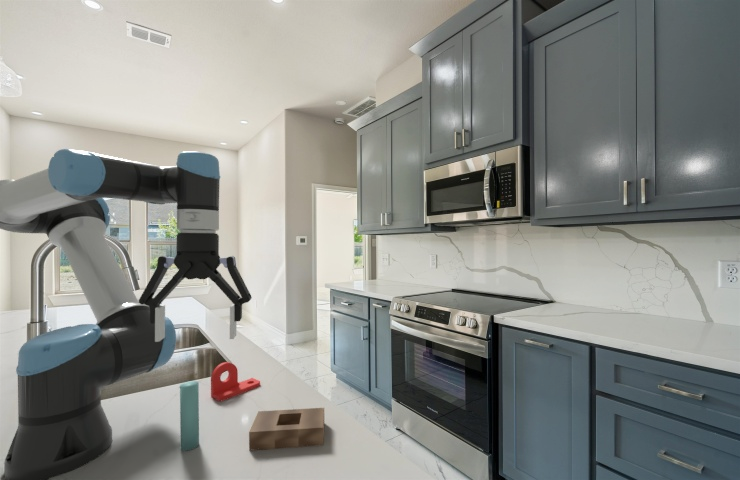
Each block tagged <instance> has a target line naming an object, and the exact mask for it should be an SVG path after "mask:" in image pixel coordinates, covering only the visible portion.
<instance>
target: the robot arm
mask: <svg viewBox="0 0 740 480" xmlns="http://www.w3.org/2000/svg"><path fill="white" fill-rule="evenodd" d="M219 162H220V161H219V159H218V158H217V157H216V156H215V155H213V154H210V153H206V152H202V151H200V152H199V151H189V150H188V151H187V150H186V151H181V152H179V154H178V155H177V159H176V163H175V164H176V165H173V166H160V165H155V164H150V163H144V162H140V161H133V160H128V159H125V158H124V159H123V158H118V157H114V156H109V155H104V154H99V153H95V152H91V151H89V150H88V151H87V150H76V149H69V148H63V149H58V150H56V151H55V152H54V154H53V156H52V157H51V159H50V160H49V163H48V168H46V169H43V170H41V171H37V172H34V173H31V174H29V175H25V176H23V177H21V178H17V179H1V180H0V229H1V230H3V231H5V232H6V231H7V232H12V233H20V234H46V235H47V237H48V239H49V241H50V242H49V243H51V244H53V245H54V246H55V247H57V248H61V249H62V252H63V253H64V255H65V258H66V259H67V262H68V263H69V265H70V267H71V269H72V272H73V274H74V276H75V277H76V280H77V282H78V284H79V286H80V288H81V290H82V292H83V295H84V296H85V299H86V301H87V303H88V305H89V307H90V309H91V312H92V314H93V316H94V318H95V320H96V323H95V324H94V323H87V324H86V323H85V324H83V323H82V324H77V325H73V326H65V327H61V328H57V329H53V330H49V331H47V332H44V333H41V334H39V335H36V336H34V337H32V338H30V339H29V340H28V341H26V342H24V343H23V344H22V346H20V349H19V351H18V358H17V366H16V369H15V370H16V371H15V372H16V375H17V410H18V411H17V412H18V413H17V414H18V418H17V419H18V420H17V422H18V424H17V429H16V431H15V433H14V436H13V438H12V440H11V443H10V446H9V448H8V452H7V454H6V456H5V459H4V463H3V464H4V466H3V467H4V468H3V469H4V471H3V472H4V477H5V479H6V480H48V479H51V478H54V477H57V476H58V477H59V476H61V475H64V474H67V473H69V472H72V471H74V470H77V469H79V468H81V467H83V466H85V465H88V464H89V463H91V462H92V461H94V460H96V459H98V458H99V457H101V455H103V454H104V453H105V452H106V451H107V450H108V449H109V448H110V447H111V445H112V443H113V429H112V426H111V425H110V422H109V419H108V417H107V415H106V412H105V411H104V409H103V406H102V388H105V387H107V386H110V385H113V384H114V385H115V383H120V382H123V381H126V380H128V379H131V378H133V377H134V378H135V377H136V376H140V375H143V374H146V373H149V372H152V371H153V370H156V369H158V368H160V367H164V366H165V365H166V364H167V363H169V362H170V360H171V359H172V357H173V355H174V353H175V349H176V343H177V333H176V329H175V325H174V323H173V322H172V320H171V319H170V318H169V317H167V316H166V304H164V305H163V304H162V303H163V302H164V301H165V300H166V298H167V297H168V296H169V295H170V294H171V293H172V292H173V291H174V289H176V287H178V285H179V284H180V283H181V282H182V281H183V280H184V279H187V280H194V279H198V280H206V279H208V278H209V280H211V282H213V283H214V284H215V285H216V286H217V287H218V288H219V289H220V291H221V292H222V293H223V294H225V296H226V297H227V298H228V299H229V300H230V302H231V303H232V304H231V305H230V306H229V340H234V339H235V337H236V336H237V322H240V321H241V320H242V319H243V304H246V303H249V302H250V301H251V300H252V298H253V297H252V294H251V293H250V291H249V288H248V287H247V285H246V283H245V280H244V279H243V277H242V276H241V274H240V271H239V269H238V267H237V263H236V257H235V256H234V255H231V256H228V257H226V256H225V257H220V254H219V253H220V252H219V248H220V244H219V242H220V236H219V234H218V233H217V231H219V230H220V182H221V181H220V179H221V175H220V163H219ZM105 199H115V200H116V199H117V200H125V201H126V200H127V201H135V202H139V201H140V202H144V203H146V204H152V205H165V204H175V203H176V204H177V205H176V229H177V230H179V231H180V232H177V234H176V255H175V257H172V256H169V255H162V256H159V257H158V258H157V265H156V269H155V270H154V272H153V274H152V276H151V277H150V280H149V281H148V283H147V285H146V287H145V288H144V290H143V292H142V294H141V296H140V297H139V299H138V298H137V295H136V294H135V293H134V290H133V289H132V286H131V284H130V283H129V280H128V279H127V277H126V276H125V273H124V271H123V270H122V268H121V266H120V263H118V260H117V258H116V257H115V255H114V252H113V251H112V249H111V247H110V245H109V244H108V241H107V239H106V238H105V234H106V232H107V229H108V227H109V225H110V219H111V215H110V214H109V213H110V208H109V205H108V204H107V202H106V200H105ZM173 264H174V266H175V267H176V268H177V271H176V273H175V274H174V275H173V276H172V278H171V279H170V280H169V281H168V282H167V283H166V284H165V286H164V287H162V288H161V290H159V292H157V291H158V288H159V286H160V284H161V282H162V280H164V277H165V275H166V274H167V272H168V270H169V268H171V267H172V266H173ZM221 264H222V265H223V267H224V268H226V269H227V271H228V273H229V276H230V278H231V279H232V281H233V284H234V285H235V287H236V289H237V291H238V293H239V294H240V295H239V294H238V293H237V292H236V291H235V290H234V288H233V287H232V286H231V285H230V284H229V282H228V281H227V280H225V278H224V277H223V276H222V274H221V273H220V271H219V270H218V268H219V266H220V265H221ZM156 292H157V294H156V295H155V293H156ZM154 295H155V296H154Z"/></svg>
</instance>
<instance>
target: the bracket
mask: <svg viewBox="0 0 740 480" xmlns="http://www.w3.org/2000/svg"><path fill="white" fill-rule="evenodd" d="M224 372H228V376H227V378H226V379H224V380H221V376H222V375H223V373H224ZM238 374H239V372H238V367H237V366H236V365H235V364H234V363H232V362H229V361H226V362H221V363H219V364H218V365H217V366H216V367H214V370H213V371H212V373H211V375H210V398H212V399H214V400H216V401H218V402H220V403H221V402H222V401H223V402H224V401H225V400H228V399H230V398H233V397H235V396H238V395H241V394H244V393H246V392H248V391H251V390H254V389H256V388H259V387H260V386H261V380H259V379H257V378H254V377H251V378H248V379H245V380H243V381H240V382H239V380H238V378H239V377H238V376H239V375H238Z"/></svg>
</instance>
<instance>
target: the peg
mask: <svg viewBox="0 0 740 480" xmlns="http://www.w3.org/2000/svg"><path fill="white" fill-rule="evenodd" d="M199 388H200V387H199V381H197V380H190V381H186V382H183V383H181V384H180V385H179V394H180V395H179V403H180V404H179V407H180V408H179V409H180V410H179V413H180V417H179V419H180V420H179V421H180V427H179V428H180V431H179V432H180V450H181V451H186V452H187V451H190V450H193V449H196V448H197V447H199V445H200V422H199V421H200V416H199V415H200V413H199V411H200V409H199V407H200V405H199V404H200V403H199V401H200V400H199V398H200V394H199V390H200V389H199Z"/></svg>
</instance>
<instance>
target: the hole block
mask: <svg viewBox="0 0 740 480" xmlns="http://www.w3.org/2000/svg"><path fill="white" fill-rule="evenodd" d="M324 435H325V407H314V408H313V407H312V408H311V407H310V408H296V409H277V410H262V411H260V410H259V411H258V412H257V413H256V415H255V418H254V421H253V423H252V424H251V427H250V428H249V432H248V444H249V445H248V447H249V449H248V450H249V451H259V450H260V451H262V450H274V449H275V450H276V449H286V448H287V449H291V448H303V447H316V446H317V447H320V446H324V440H325V439H324Z"/></svg>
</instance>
